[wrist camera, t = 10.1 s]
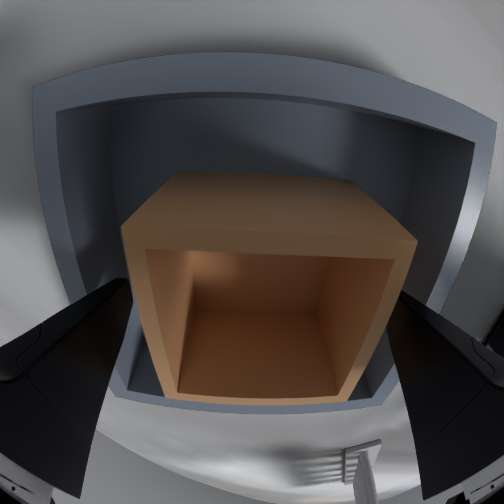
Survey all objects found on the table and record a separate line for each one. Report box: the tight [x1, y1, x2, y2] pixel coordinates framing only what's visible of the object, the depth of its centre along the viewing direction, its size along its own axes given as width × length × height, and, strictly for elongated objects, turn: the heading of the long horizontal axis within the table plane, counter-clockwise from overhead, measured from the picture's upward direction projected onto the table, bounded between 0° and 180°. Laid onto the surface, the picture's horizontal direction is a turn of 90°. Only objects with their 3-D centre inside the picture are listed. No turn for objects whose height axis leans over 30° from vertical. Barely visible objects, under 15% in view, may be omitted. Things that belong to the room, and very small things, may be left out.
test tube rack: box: [344, 439, 382, 504], centre depth 25 cm, size 25×4×13 cm, turn 16°
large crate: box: [33, 52, 497, 414], centre depth 10 cm, size 14×14×4 cm
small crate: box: [121, 171, 418, 405], centre depth 9 cm, size 6×6×5 cm
